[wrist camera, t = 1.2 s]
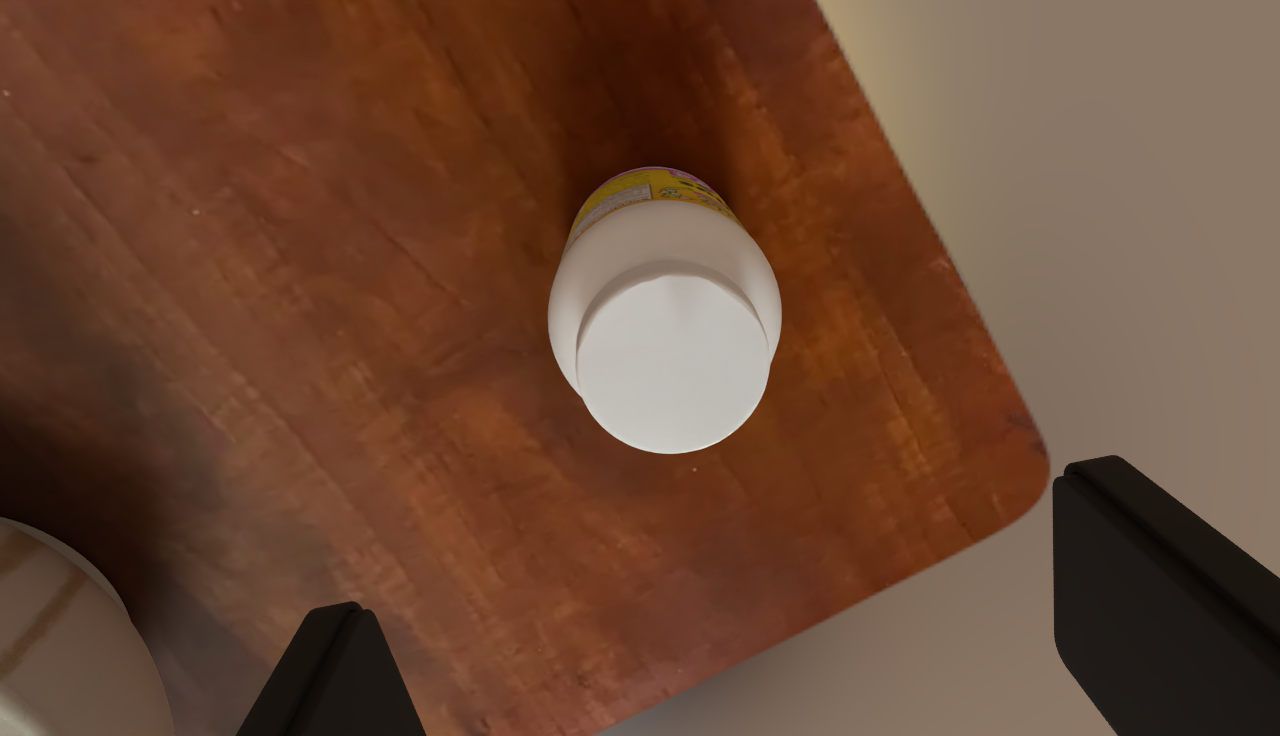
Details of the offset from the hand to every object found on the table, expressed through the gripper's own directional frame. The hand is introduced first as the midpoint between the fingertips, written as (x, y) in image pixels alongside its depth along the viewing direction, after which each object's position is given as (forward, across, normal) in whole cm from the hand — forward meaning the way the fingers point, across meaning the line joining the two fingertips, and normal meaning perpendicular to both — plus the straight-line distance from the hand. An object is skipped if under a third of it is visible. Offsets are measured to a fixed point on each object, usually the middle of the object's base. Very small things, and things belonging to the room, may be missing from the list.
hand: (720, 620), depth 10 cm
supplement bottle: (+21, 0, -1) cm, 21 cm away
